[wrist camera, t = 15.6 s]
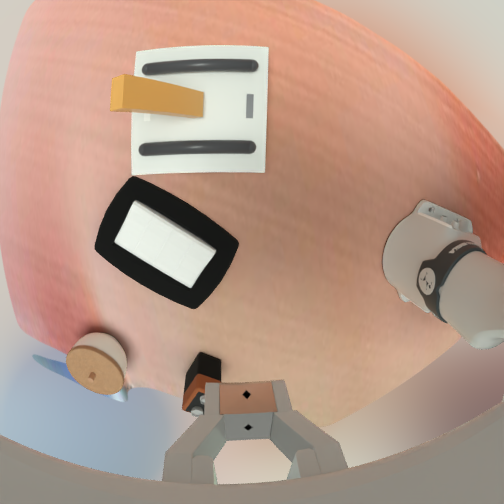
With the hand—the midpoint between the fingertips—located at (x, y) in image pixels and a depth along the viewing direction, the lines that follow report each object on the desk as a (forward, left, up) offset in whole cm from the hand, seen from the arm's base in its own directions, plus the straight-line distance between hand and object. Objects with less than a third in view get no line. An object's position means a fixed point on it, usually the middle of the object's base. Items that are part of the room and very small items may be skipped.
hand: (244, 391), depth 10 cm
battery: (+5, +28, -31) cm, 42 cm away
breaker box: (+4, -14, -31) cm, 34 cm away
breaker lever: (+4, -14, -26) cm, 29 cm away
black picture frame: (+9, +5, -32) cm, 33 cm away
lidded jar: (+23, +24, -31) cm, 46 cm away
